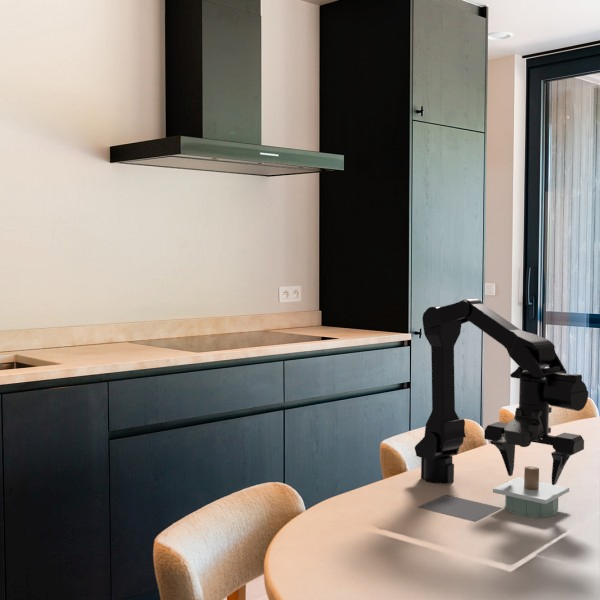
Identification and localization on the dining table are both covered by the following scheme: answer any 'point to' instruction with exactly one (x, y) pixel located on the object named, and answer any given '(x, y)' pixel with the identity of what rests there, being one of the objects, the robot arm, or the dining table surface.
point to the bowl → (531, 507)
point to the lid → (531, 488)
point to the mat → (460, 508)
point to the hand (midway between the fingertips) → (531, 480)
